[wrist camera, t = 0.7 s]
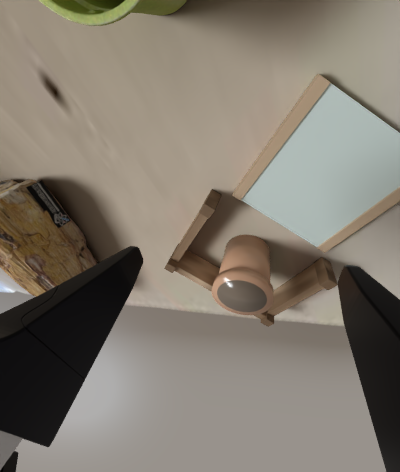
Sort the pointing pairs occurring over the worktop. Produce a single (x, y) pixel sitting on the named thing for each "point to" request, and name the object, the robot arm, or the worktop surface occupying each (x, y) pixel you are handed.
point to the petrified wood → (39, 238)
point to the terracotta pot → (244, 277)
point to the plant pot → (109, 9)
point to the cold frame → (206, 272)
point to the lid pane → (325, 168)
